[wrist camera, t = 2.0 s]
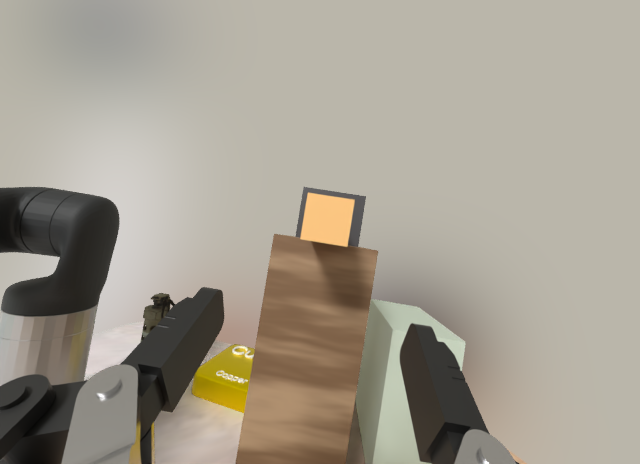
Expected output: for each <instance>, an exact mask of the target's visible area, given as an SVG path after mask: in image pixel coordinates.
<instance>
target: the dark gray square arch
mask: <svg viewBox="0 0 640 464" xmlns="http://www.w3.org/2000/svg"><path fill="white" fill-rule="evenodd" d="M308 193H314V194H321V195H327V196H334V197H340V198H347V199H353V200H355V202H354V208H353V214H352V220H351V227H350V233H349V239H348V246H354V247H358V244H359V237H360V231H361V225H362V218H363V212H364V205H365V199H366V196H359V195H353V194H346V193H339V192H332V191H327V190H320V189H313V188H307V187H304V190H303V195H302V201H301V207H300V213H299V220H298V225H297V231H296V237H299V238H300V237H301V231H302V225H303V219H304V213H305V207H306V201H307V195H308Z"/></svg>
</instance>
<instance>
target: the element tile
mask: <svg viewBox="0 0 640 464" xmlns="http://www.w3.org/2000/svg"><path fill="white" fill-rule="evenodd" d="M254 351H255V349H253V348H249V347H246V346H242V345H237V344H234V345H232V346H230V347H228V348H227V349H225V350H224V351H222V352H221V353H219V354H218V355H216V356H215V357H213V358H212V359H210V360H209V361H207V362H206V363H204V364H203V365H201V366H200V367H199V368H198V370H197V371H196V373H195V375H194V380H193V386H192V394H193V395H194V396H196V397H199V398H202V399H205V400H208V401H211V402H214V403H216V404H219V405H222V406H225V407H228V408H231V409H234V410H236V411H239V412H242V413H244V411H245V405H246V399H247V393H248V387H249V381H250V375H251V369H252V363H253V357H254Z"/></svg>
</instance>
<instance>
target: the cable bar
mask: <svg viewBox="0 0 640 464" xmlns="http://www.w3.org/2000/svg"><path fill="white" fill-rule="evenodd" d="M354 202H355V200H353V199H347V198H340V197H334V196H327V195H321V194H314V193H308V195H307V201H306V207H305V213H304V219H303V225H302V231H301V237H300V239H302V240H308V241H314V242H320V243H326V244H333V245H339V246H345V247H347V246H348V239H349V233H350V227H351V220H352V214H353V208H354Z"/></svg>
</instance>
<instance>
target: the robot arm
mask: <svg viewBox="0 0 640 464" xmlns="http://www.w3.org/2000/svg"><path fill="white" fill-rule="evenodd" d="M118 230H119V214H118V210H117V207H116V206H115V204H114V203H113V202H112V201H110V200H109V199H107V198H103V197H100V196H94V195H89V194H83V193H77V192H71V191H65V190H59V189H53V188H45V187H19V188H0V253H3V252H22V253H32V254H41V255H49V256H57V257H60V260H59V262H58V265H57V268H56V270H55V272H54V273H53V274H52V275H50V276H48V277H43V278H36V279H31V280H27V281H21V282H18V283H15V284H13V285H11V286H10V287H8V288H7V289H6V291H5V293H4V296H3V300H2V306H1V312H0V460H1V459H2V458H3V459H2V460H1V461H0V464H155V454H154V421H155V419H156V417H157V416H158V414H159V413H160V411H161V410H162V411H167V412H173V410H174V409H175V407H176V405H177V404H178V402H179V400H180V398H181V397H182V395H183V393H184V392H185V390H186V388H187V387H188V385H189V383H190V381H191V380H192V378H193V376H194V375H195V373H196V371H197V370H198V368H199V366H200V364H201V363H202V361H203V359H204V358H205V356H206V354H207V353H208V351H209V349H210V348H211V346H212V344H213V342H214V341H215V339H216V337H217V335H218V334H219V332H220V330H221V328H222V325H223V321H224V307H223V293H222V291H221V290H218V289H212V288H205V287H203V288H201V289H200V290H199V291H198V292H197V294H196V295H195V296H194V297H193V298H188V297H187V298H185V299H184V300H182V301H181V302H179V303H177V304H176V305H174V306H173V307H172V308H171V310H170V311H169V312H168V313H167V314H166V315H165V317H164V318H162V319H161V321H160V322H159V323H158V324H157V326H155V327H154V328H153V329H152V330H151V332H150V333H149V334H148V335H147V336H146V337H145V338H144V339H143V340H142V342H141V343H140V344H139V345H138V346H137V347H136V348H135V349H134V350H133V351H132V353H131V354H130V355H129V356H128V357H127V358H126V359H125V360H124V361H123V362H122V363H121V364H120V365H115V366H112V367H109V368H106V369H104V370H102V371H100V372H99V373H97V374H96V375H94V376H93V377H91V378H90V379H89V380H87V381H84V377H85V372H86V366H87V361H88V355H89V350H90V345H91V339H92V334H93V329H94V323H95V317H96V311H97V306H98V302H99V297H100V293H101V291H102V289H103V286H104V284H105V282H106V278H107V275H108V271H109V266H110V261H111V258H112V254H113V250H114V246H115V243H116V239H117V235H118ZM400 366H401V371H402V376H403V381H404V386H405V391H406V395H407V400H408V405H409V410H410V415H411V420H412V425H413V430H414V434H415V439H416V444H417V449H418V454H419V459H420V461H421V462H426V463H432V464H519V463H517V462H516V461H514V459H513V457H512V456H511V454H510V453H509V451H508V450H507V449H506V448H505V447H504V446H503V445H502V444H501V443H500V442H499V441H498V440H497V439H496V438H494V437H493V436H492V435H490V434H489V432H488V430H487V428H486V426H485V424H484V421H483V419H482V417H481V414H480V412H479V410H478V407H477V405H476V403H475V401H474V398H473V396H472V394H471V391H470V389H469V387H468V385H467V383H466V382H465V378H464V375H463V373H462V371H460V366H459V364H458V362H457V359H456V357H455V355H454V354H453V352H452V351H451V350H450V349H449V348H448V346H447V345H446V344H445V343H444V342H439V341H437V338H436V335H435V333H434V330H433V328H432V327H431V326H426V325H420V324H414V323H411V324H410V326H409V328H408V331H407V333H406V336H405V338H404V341H403V343H402V346H401V349H400Z"/></svg>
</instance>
